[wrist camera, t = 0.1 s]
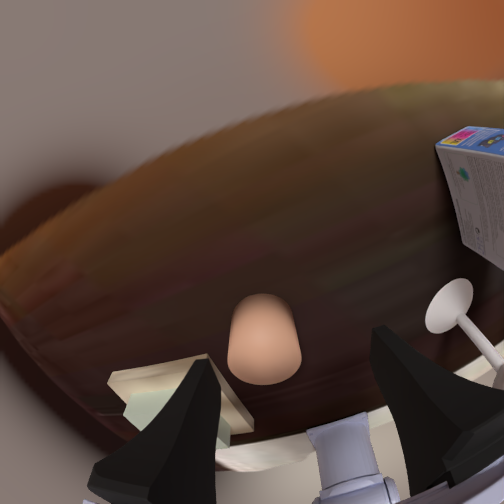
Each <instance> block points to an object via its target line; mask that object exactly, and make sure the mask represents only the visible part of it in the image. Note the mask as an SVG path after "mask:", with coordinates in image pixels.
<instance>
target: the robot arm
mask: <svg viewBox="0 0 504 504" xmlns="http://www.w3.org/2000/svg"><path fill="white" fill-rule="evenodd" d="M370 364H371V367H372V370H373V373H374V376H375V379H376V381H377V383H378V386H379V388H380V390H381V392H382V394H383V396H384V399H385V401H386V403H387V405H388V407H389V409H390V412H391V414H392V416H393V419H394V421H395V424H396V428H397V431H398V434H399V438H400V442H401V446H402V450H403V454H404V459H405V464H406V469H407V475H408V482H409V490H410V496H411V497H410V498H408V499H405V500H403V501H400V498H399V494H398V490H397V487H396V484H395V482H394V480H393V479H392V478H389V477H385V478H384V479H383V477H382V474H381V473H380V472H379V469H378V465H377V462H376V459H375V455H374V452H373V448H372V445H371V442H370V433H369V424H368V415H367V412H362V413H360V414H357V415H354V416H351V417H348V418H345V419H342V420H339V421H335V422H332V423H329V424H325V425H322V426H318V427H314V428H311V429H308V430H307V431H306V433H307V435H308V437H309V439H310V441H311V442H312V444H313V446H314V448H315V449H316V453H317V459H318V465H319V472H320V478H321V485H322V491H320V497H317V498H315V500H314V501H313V502H312V504H499V503H501V502H502V501H503V500H504V390H501V389H496V388H491V387H488V386H484V385H481V384H478V383H475V382H472V381H470V380H467V379H465V378H463V377H460V376H458V375H456V374H454V373H452V372H450V371H448V370H446V369H444V368H442V367H441V366H439V365H437V364H436V363H434V362H433V361H431V360H429V359H428V358H426V357H425V356H424V355H422V354H421V353H419V352H418V351H417V350H415V349H414V348H413V347H411V346H410V345H409V344H408V343H406V342H405V341H404V340H403V339H401V338H400V337H399V336H398V335H396V334H395V333H394V332H393V331H391V330H390V329H389V328H388V327H386V326H385V325H383V326H379V327H376V328H372V337H371V350H370ZM220 413H221V385H220V383H219V381H218V379H217V376H216V374H215V372H214V370H213V367H212V365H211V363H210V360H209V358H206V359H196V360H195V361H194V362H193V364H192V366H191V367H190V369H189V370H188V372H187V374H186V375H185V377H184V378H183V380H182V381H181V383H180V385H179V386H178V387H177V389H176V390H175V392H174V393H173V395H172V396H171V398H170V399H169V400H168V402H167V403H166V404H165V405H164V407H163V408H162V409H161V411H160V412H159V413H158V414H157V415H156V416H155V418H154V419H153V420H152V421H151V422H150V423H149V424H148V425H147V426H146V427H145V428H144V429H143V430H142V431H141V432H140V433H139V434H137V435H136V436H135V437H134V438H133V439H132V440H130V441H129V442H128V443H127V444H125V445H124V446H123V447H121V448H120V449H118V450H117V451H115V452H114V453H112V454H111V455H109V456H107V457H106V458H104V459H102V460H100V461H99V462H97V463H95V464H94V467H93V469H92V473H91V475H90V478H89V481H88V484H87V487H88V489H89V490H90V491H92V492H93V493H94V494H96V495H98V496H99V497H101V498H103V499H104V500H106V501H108V502H110V503H111V504H216V489H215V451H216V442H217V435H218V427H219V420H220ZM383 480H384V481H383ZM83 504H98V503H95V502H92V501H89V500H87V499H84V501H83Z"/></svg>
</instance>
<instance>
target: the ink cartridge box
mask: <svg viewBox="0 0 504 504" xmlns="http://www.w3.org/2000/svg"><path fill="white" fill-rule="evenodd" d="M435 148H436V151H437V153H438V156H439V159H440V162H441V164H442V167H443V170H444V173H445V176H446V179H447V183H448V186H449V189H450V193H451V196H452V200H453V204H454V207H455V211H456V215H457V220H458V224H459V228H460V233H461V238H462V243H463V244H464V245H465V246H467V247H469V248H470V249H472V250H473V251H475V252H477V253H478V254H480V255H481V256H483V257H484V258H486V259H487V260H489V261H490V262H492V263H493V264H495V265H496V266H497V267H499V268H500V269H502V270H503V271H504V129H497V128H485V127H471V126H468V127H465V128H463V129H461V130H459V131H458V132H456V133H454V134H452V135H450V136H448V137H447V138H445V139H443V140H441V141H439V142H438V143H436V146H435Z"/></svg>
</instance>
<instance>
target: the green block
mask: <svg viewBox="0 0 504 504" xmlns="http://www.w3.org/2000/svg"><path fill="white" fill-rule="evenodd" d="M176 389H177V388H174V389H167V390H160V391H152V392H144V393H134V394H131V396H130V398H129V401H128V404H127V406H126V409H125V412H124V414H123V415H124V416H125V417H126V418H127V419H128V420H129V421H130V422H131V423H132V424H133V425H135V426H136V427H137V428H138V429H139V430H140V431H142V430H143V429H144V428H145V427H146V426H147V425H148V424H149V423H150V422H151V421H152V420H153V419H154V418H155V416H156V415H157V414H158V413H159V412H160V411H161V409H162V408H163V407H164V405H165V404H166V403H167V402H168V400H169V399H170V398H171V396H172V395H173V393H174V392H175V390H176ZM230 430H231V426H230V425H229V424H228V422H227V421H226V420H225V419H224V418H223V417H222V416H221V415H220V420H219V427H218V435H217V442H216V449H225V448H229V446H230Z"/></svg>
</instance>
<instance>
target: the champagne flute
mask: <svg viewBox="0 0 504 504" xmlns="http://www.w3.org/2000/svg"><path fill="white" fill-rule="evenodd" d="M472 298H473V287H472V284H471V283H470V282H469V281H468V280H467V279H464V278H459V279H455V280H453V281H451V282H449V283H448V284H446V285H445V286H444V287H443V288H442V289H441V290H440V291H439V292H438V293H437V294H436V295H435V297H434V298H433V300H432V301H431V303H430V305H429V307H428V310H427V313H426V319H425V323H426V327H427V329H428V330H429V331H430V332H432V333H443V332H446V331H448V330H450V329H451V328H453V327H454V326H455V325H456V324H458V325H459V326H460V327H461V328H462V329H463V330H464V332H465V333H466V334H467V335H468V336H469V338H470V339H471V340H472V341H473V343H474V344H475V345H476V346H477V347H478V349H479V350H480V351H481V353H482V354H483V355H484V356H485V358H486V359H487V360H488V362H489V363H490V364H491V366H492V367H493V368H494V370H495V371H496V372H497V375H496V377H495V380H494V383H493V387H492V388H496V389H501V390H504V359H503V358H502V356H501V355H500V354H499V353H498V351H497V350H496V349H495V348H494V347H493V345H492V344H491V343H490V342H489V341H488V340H487V338H486V337H485V336H484V335H483V334H482V333H481V331H480V330H479V329H478V328H477V327H476V326H475V325H474V324H473V322H472V321H471V320H470V319H469V318H468V317H467V316H466V315H465V314H466V312H467V311H468V309H469V307H470V305H471V302H472Z"/></svg>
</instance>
